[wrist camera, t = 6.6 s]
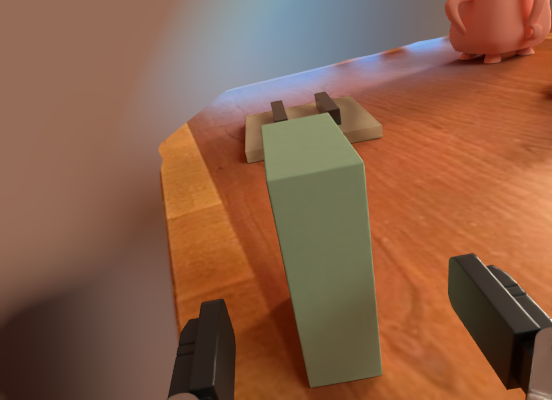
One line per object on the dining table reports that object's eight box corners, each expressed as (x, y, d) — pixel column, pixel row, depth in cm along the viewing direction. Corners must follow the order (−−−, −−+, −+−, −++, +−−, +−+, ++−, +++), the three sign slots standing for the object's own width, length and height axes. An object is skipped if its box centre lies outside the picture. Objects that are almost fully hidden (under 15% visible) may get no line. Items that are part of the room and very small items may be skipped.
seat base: (247, 163, 47) (241, 135, 45) (247, 125, 61) (242, 103, 59) (382, 137, 46) (381, 107, 45) (351, 105, 60) (348, 82, 59)
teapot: (453, 51, 82) (454, -23, 76) (551, 42, 74) (563, -42, 68) (441, 69, 70) (442, -17, 64) (558, 60, 62) (572, -39, 56)
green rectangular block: (309, 388, 19) (265, 180, 14) (294, 292, 25) (260, 125, 20) (382, 376, 19) (364, 161, 14) (349, 282, 25) (328, 111, 20)
